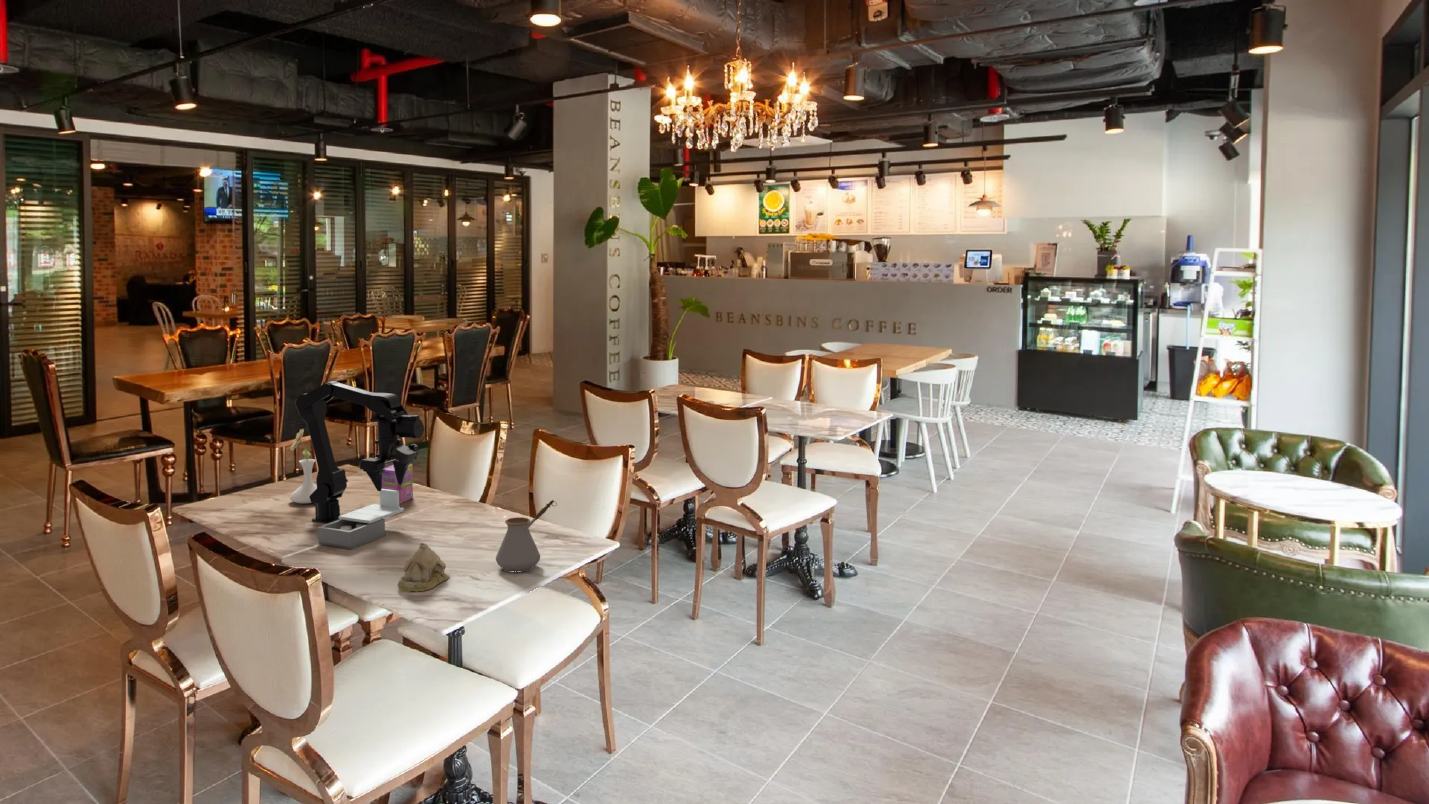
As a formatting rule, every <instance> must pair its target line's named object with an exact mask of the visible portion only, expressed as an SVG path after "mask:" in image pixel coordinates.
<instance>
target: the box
mask: <svg viewBox="0 0 1429 804" xmlns="http://www.w3.org/2000/svg"><path fill="white" fill-rule="evenodd" d="M384 469H386V470H385V471H384V473H383V474H382V489H389V490H397V491H399V505H400V504H403V503H404V501H405V502H407V501H408V500H410V499H413V498H414V487H413V484H414V483H413V481H414V479H413V463H411V464H410V465H409V466H408V467H407V470H406V473H405V476H404V479H403V482H402V484H398V481H397V478H396V474H395V470H394V465H393V464H392V465H389V466H387V467H384ZM402 502H403V503H402Z"/></svg>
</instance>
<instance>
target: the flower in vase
mask: <svg viewBox="0 0 1429 804" xmlns="http://www.w3.org/2000/svg"><path fill="white" fill-rule="evenodd" d="M304 431H305V430H304V428H302V429H301V428H300V429H299V432H297V433H296V435H295V436H296V437H295V439H293V440H292V444H291V446H290V447H289V449H290V452H291V451H292V452H293V451H294V450H295V449H296V448H297V447H298V445H299V443H300V444H301V445H302V446H303V448H304V449H303V451H302V455H303V458H302V459H300V460H298V463H299V464H300V465H301V467H302V470H303V479H304V480H303V483H302V484H301V485H300V486H299V487H298V488H296V489H295V490H294V491H293V492H292V493H291V494H290V496H289V500H290V501H291V502H294V503H296V504H312V503H311V500H310V497H309V496H310V495H311V494H312V493H313V492H314V491H315V490H316V489H317V484H315V483H314V481H313V478H312V477H313V476H312V475H313V467H314V464H315V462H317V461H316V459H314V458H309V457H310V456H311V455H312V454H311V453H310V451H309V450H308V449H307V448H306V446H305V445H304V443H303V441H302V438H303V436H304Z"/></svg>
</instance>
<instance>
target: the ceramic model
mask: <svg viewBox="0 0 1429 804" xmlns="http://www.w3.org/2000/svg"><path fill="white" fill-rule="evenodd" d="M446 568H447V565H446V563H445V562H444V561H442V560H441V557H440V556H439V555H438V554H437V553H436V552H435V551H434V550H433V549H432V548H431V547H429V545H428V543H424V542H423V543H421V542H420V543H419V546H418V549H417V550H415V552H414V553H413V555H411V556H410V557H408V558H407V560H406V563H405V565H404V566H403V569H402V571H403V573H404V575H403V576H401V577H400V579H399V581H398V583H397V587H398V588H399V591H400V592H405V591H416V592H422V591H427V590H431V589H433V588H435V587H436V586H437V585H439V584H441V583H442V582H444V581H447V580H448V579H449V578H450V575H449V574H447V573H446V572H445V569H446Z"/></svg>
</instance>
